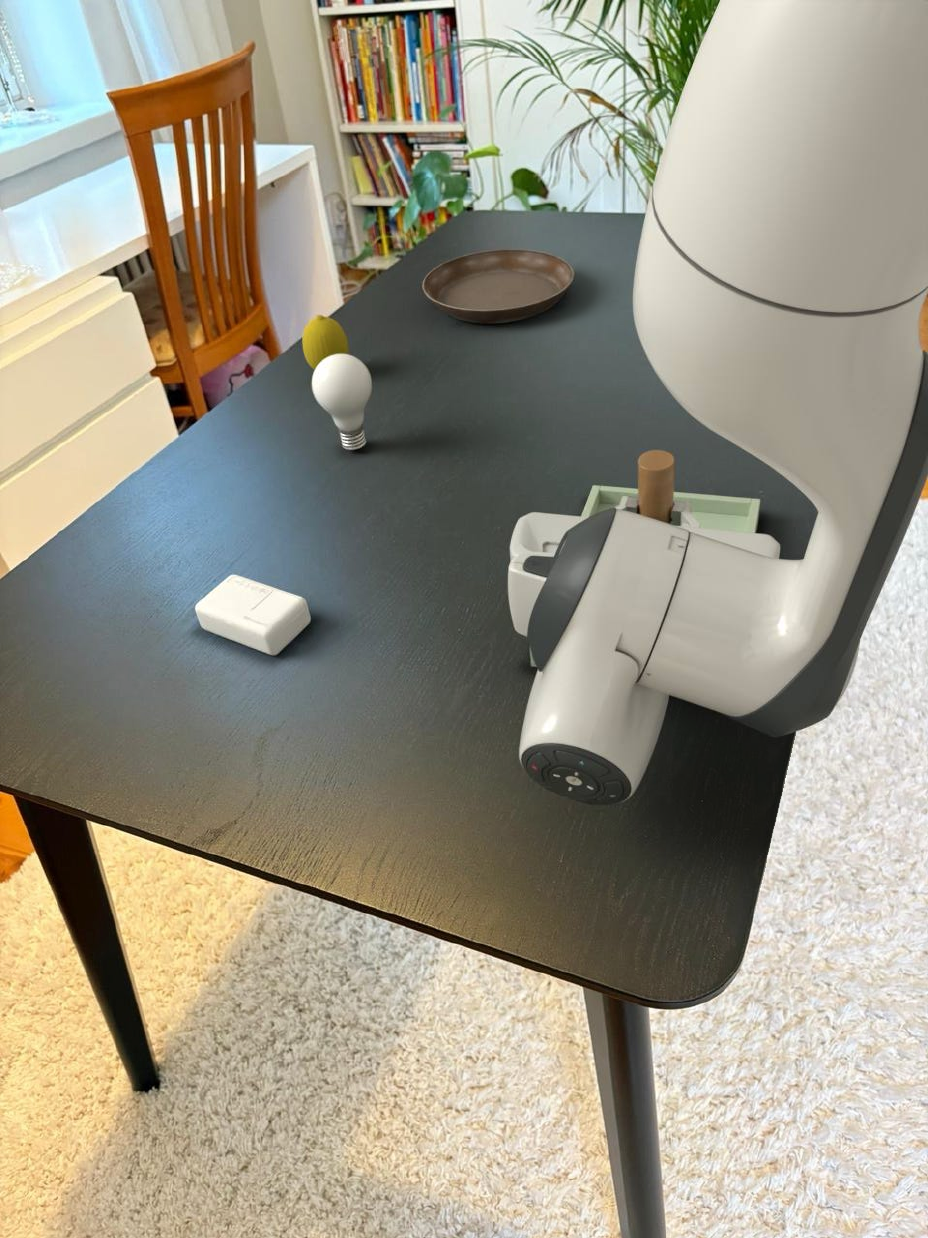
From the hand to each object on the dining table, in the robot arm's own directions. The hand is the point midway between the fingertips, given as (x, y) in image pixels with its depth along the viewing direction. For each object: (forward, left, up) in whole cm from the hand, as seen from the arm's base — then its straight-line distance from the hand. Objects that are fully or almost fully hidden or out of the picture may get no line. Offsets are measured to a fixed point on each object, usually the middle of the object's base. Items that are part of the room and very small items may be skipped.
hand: (656, 505), depth 80 cm
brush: (0, 0, -7) cm, 7 cm away
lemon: (+46, -33, -8) cm, 57 cm away
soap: (+33, +12, -8) cm, 36 cm away
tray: (0, +1, -8) cm, 8 cm away
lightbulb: (+36, -17, -8) cm, 41 cm away
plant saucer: (+31, -57, -8) cm, 66 cm away
